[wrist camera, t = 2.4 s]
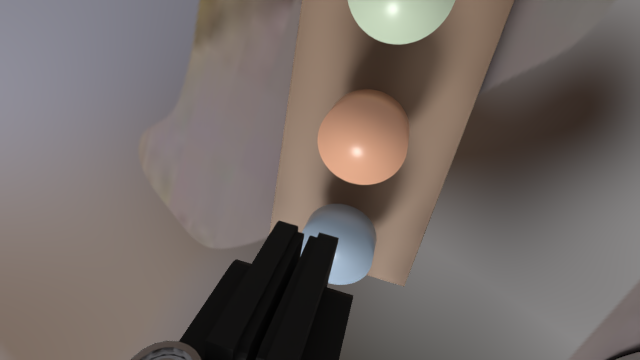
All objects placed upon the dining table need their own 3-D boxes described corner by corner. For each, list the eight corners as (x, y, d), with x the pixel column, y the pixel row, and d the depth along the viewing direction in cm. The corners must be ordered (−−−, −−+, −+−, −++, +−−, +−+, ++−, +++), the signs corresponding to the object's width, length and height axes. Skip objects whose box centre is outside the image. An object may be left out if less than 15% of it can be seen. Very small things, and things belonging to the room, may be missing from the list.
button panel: (534, -87, 19) (551, -97, 16) (406, 259, 30) (404, 286, 27) (335, -122, 20) (321, -136, 18) (281, 222, 31) (267, 244, 28)
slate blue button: (384, 215, 23) (381, 235, 21) (367, 271, 25) (362, 293, 23) (312, 195, 24) (303, 212, 22) (301, 251, 26) (292, 271, 24)
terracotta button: (420, 101, 20) (419, 113, 18) (396, 177, 22) (393, 194, 20) (335, 80, 20) (326, 89, 18) (320, 156, 22) (310, 171, 21)
